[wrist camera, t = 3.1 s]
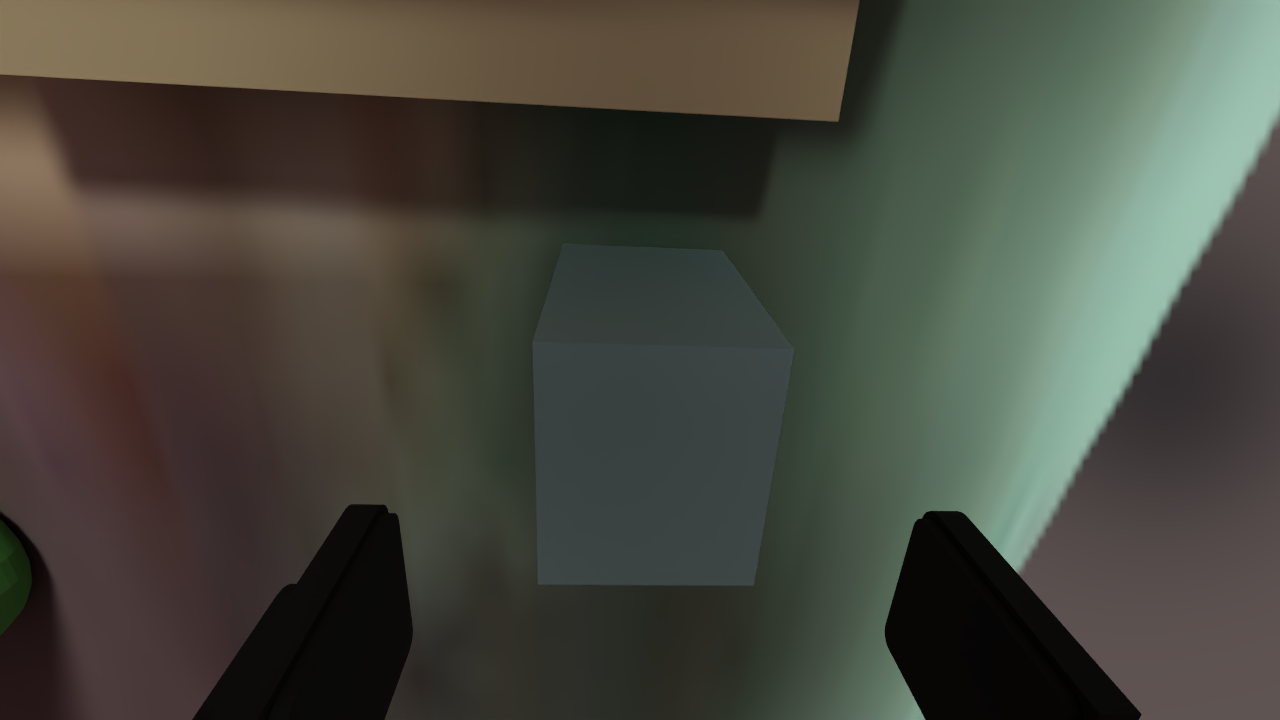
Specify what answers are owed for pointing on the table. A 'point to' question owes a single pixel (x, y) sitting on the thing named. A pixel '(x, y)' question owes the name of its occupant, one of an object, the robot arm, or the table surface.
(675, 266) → the cabinet block
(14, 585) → the wine bottle
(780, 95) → the wall shelf
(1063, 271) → the table surface
